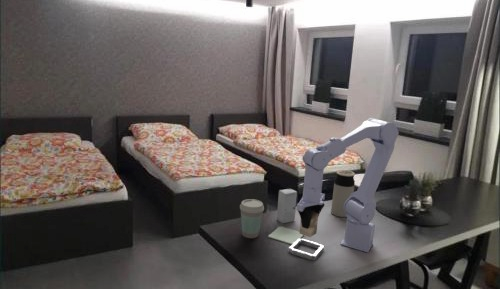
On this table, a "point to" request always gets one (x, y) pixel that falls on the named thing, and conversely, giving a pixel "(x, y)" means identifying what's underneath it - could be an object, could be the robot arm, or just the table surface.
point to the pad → (285, 235)
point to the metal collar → (304, 254)
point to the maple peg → (312, 227)
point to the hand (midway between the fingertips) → (308, 225)
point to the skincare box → (286, 205)
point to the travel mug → (342, 191)
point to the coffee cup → (251, 217)
